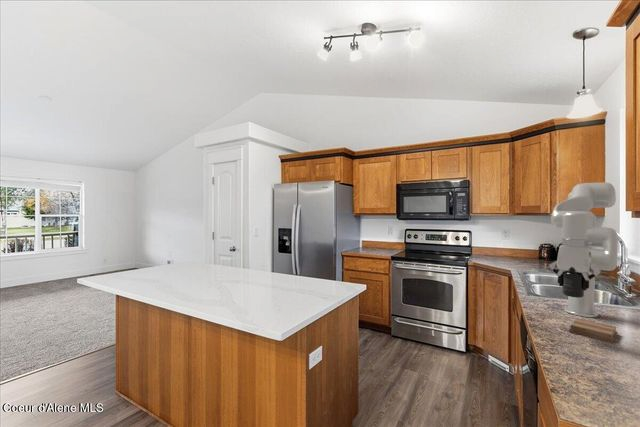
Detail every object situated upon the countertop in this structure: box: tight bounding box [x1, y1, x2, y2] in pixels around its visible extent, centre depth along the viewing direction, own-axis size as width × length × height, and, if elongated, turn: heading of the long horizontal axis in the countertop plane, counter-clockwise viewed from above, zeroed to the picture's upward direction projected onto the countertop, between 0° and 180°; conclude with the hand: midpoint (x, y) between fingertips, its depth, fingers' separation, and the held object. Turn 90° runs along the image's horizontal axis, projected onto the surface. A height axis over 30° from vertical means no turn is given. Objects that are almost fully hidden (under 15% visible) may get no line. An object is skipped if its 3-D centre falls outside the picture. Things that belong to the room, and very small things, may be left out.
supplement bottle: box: [561, 267, 584, 298], centre depth 120 cm, size 7×7×12 cm
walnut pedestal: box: [568, 317, 618, 344], centre depth 121 cm, size 13×13×3 cm
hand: (572, 287), depth 120 cm, fingers closed on supplement bottle, 6 cm apart
